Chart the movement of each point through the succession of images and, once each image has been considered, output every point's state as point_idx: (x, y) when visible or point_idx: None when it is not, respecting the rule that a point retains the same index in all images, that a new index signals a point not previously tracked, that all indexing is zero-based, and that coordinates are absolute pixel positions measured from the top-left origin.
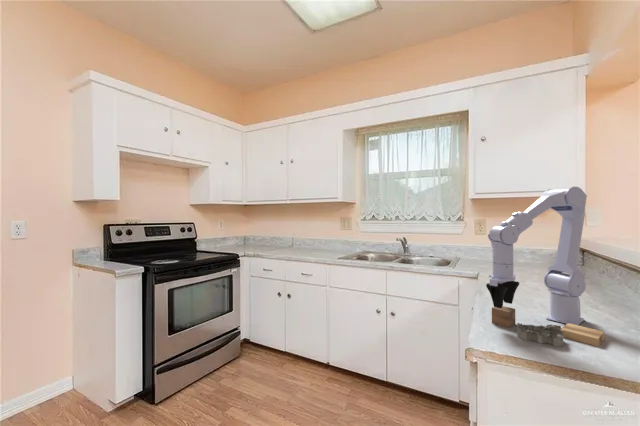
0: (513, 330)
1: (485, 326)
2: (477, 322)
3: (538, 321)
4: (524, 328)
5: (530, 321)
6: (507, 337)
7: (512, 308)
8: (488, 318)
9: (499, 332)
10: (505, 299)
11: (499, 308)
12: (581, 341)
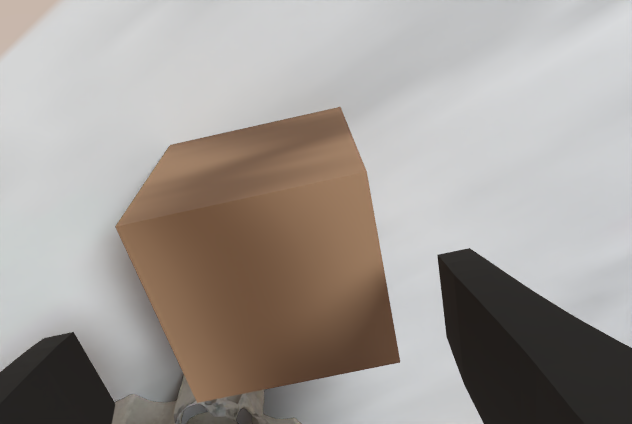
0: None
1: (16, 183)
2: (11, 64)
3: (621, 288)
4: (254, 394)
5: (563, 264)
6: None
7: (380, 345)
8: (265, 26)
9: (40, 316)
10: (455, 307)
11: (209, 286)
12: None
